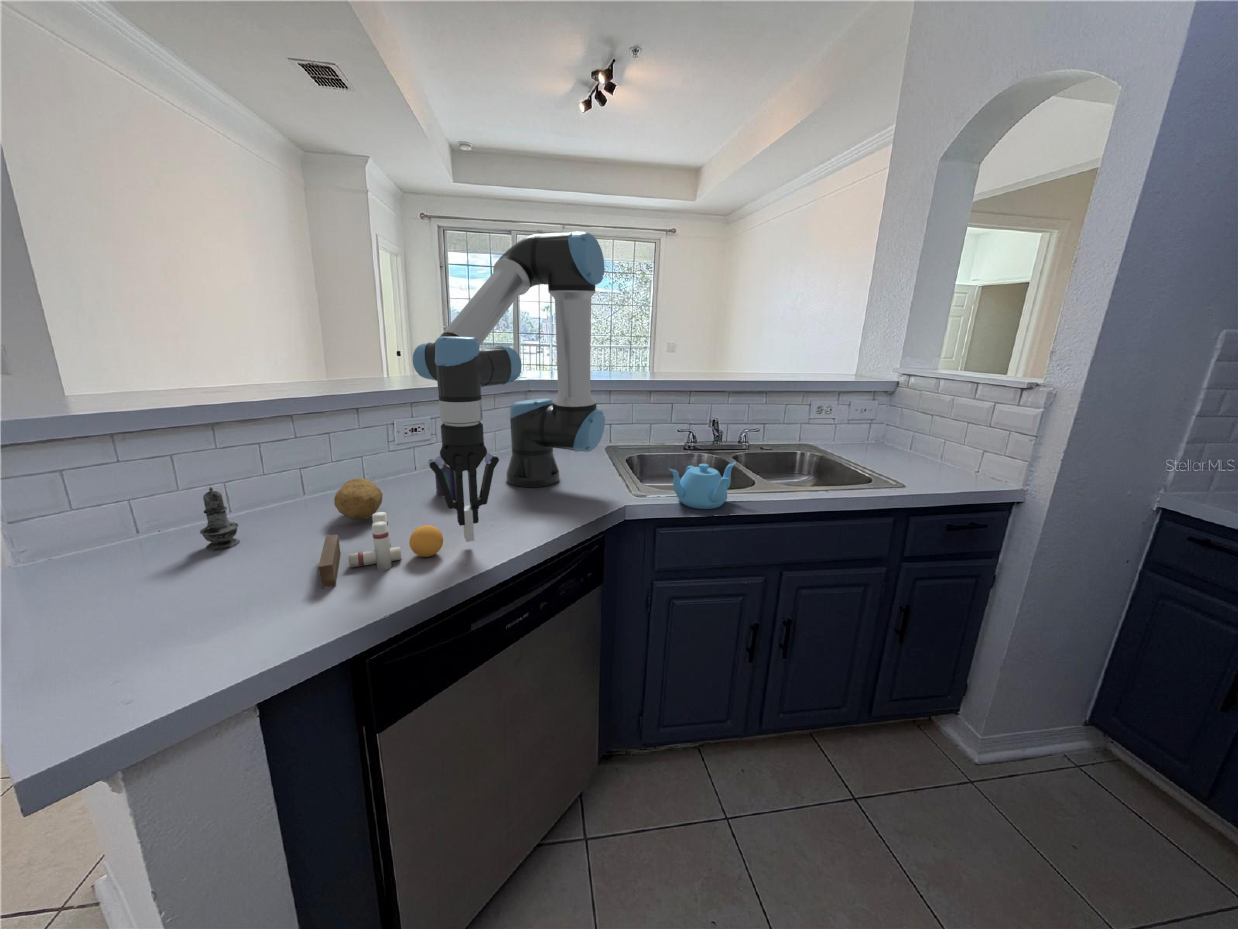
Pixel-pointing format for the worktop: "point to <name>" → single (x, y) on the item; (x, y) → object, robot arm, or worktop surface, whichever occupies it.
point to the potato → (358, 499)
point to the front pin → (371, 557)
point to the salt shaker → (218, 523)
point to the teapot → (702, 486)
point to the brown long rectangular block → (329, 561)
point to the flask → (447, 481)
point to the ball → (426, 540)
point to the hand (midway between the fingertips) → (469, 538)
